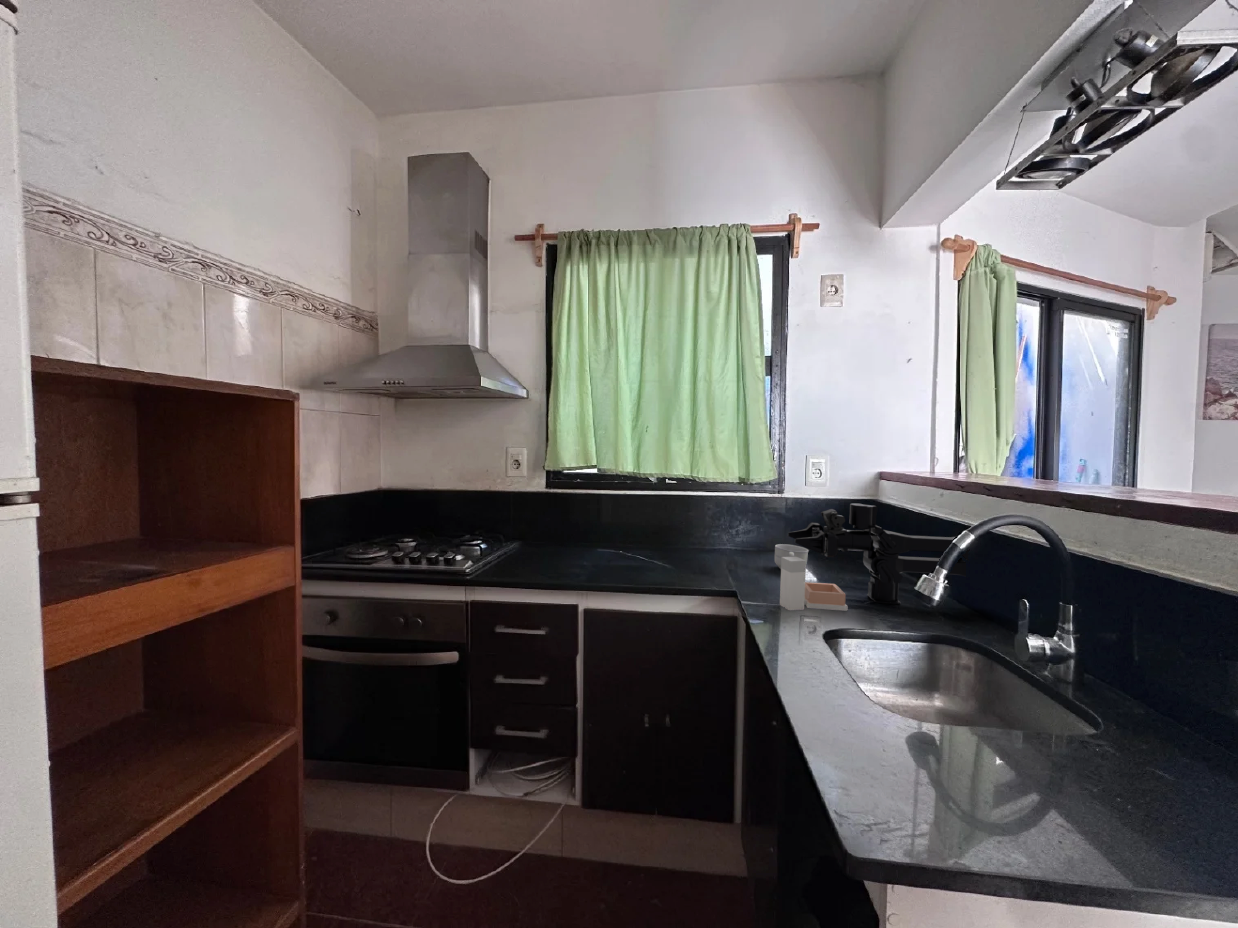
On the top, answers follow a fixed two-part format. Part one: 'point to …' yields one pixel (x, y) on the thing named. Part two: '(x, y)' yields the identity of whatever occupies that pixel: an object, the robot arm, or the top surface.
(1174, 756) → the top surface
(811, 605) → the socket
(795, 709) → the top surface
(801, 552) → the teacup
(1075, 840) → the top surface
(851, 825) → the top surface
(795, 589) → the plug
